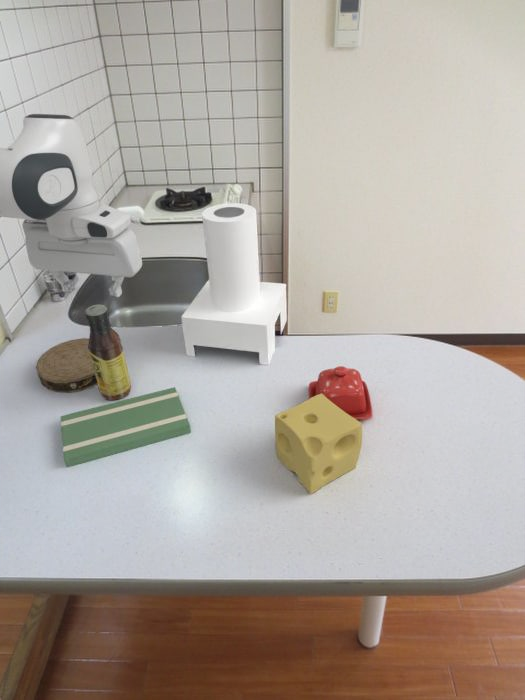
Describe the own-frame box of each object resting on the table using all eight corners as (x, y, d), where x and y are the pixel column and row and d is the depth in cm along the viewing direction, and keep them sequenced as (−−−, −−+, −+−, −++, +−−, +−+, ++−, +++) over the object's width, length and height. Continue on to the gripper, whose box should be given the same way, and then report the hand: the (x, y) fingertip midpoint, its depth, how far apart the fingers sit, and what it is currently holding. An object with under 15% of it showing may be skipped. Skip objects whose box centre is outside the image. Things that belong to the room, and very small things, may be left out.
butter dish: (310, 424, 97) (311, 388, 92) (308, 385, 106) (308, 351, 101) (373, 424, 96) (377, 387, 91) (365, 385, 106) (368, 350, 101)
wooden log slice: (127, 353, 119) (125, 342, 117) (92, 397, 106) (88, 385, 104) (65, 345, 122) (62, 335, 121) (24, 387, 110) (19, 376, 108)
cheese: (310, 496, 83) (311, 451, 77) (272, 456, 90) (270, 412, 85) (360, 468, 87) (364, 423, 82) (320, 431, 95) (321, 388, 89)
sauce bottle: (100, 386, 109) (77, 302, 98) (130, 380, 110) (111, 297, 99) (102, 406, 104) (78, 319, 92) (134, 399, 105) (114, 313, 94)
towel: (66, 467, 90) (63, 458, 89) (63, 424, 100) (60, 415, 99) (190, 432, 96) (189, 424, 95) (176, 394, 106) (174, 386, 104)
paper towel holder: (286, 320, 128) (284, 198, 111) (268, 365, 113) (262, 232, 96) (213, 313, 132) (201, 195, 115) (186, 355, 117) (167, 226, 100)
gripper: (8, 222, 86) (31, 296, 94) (121, 229, 82) (136, 306, 89) (31, 209, 91) (51, 281, 99) (138, 215, 87) (151, 290, 94)
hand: (92, 293), depth 94 cm, fingers open, 8 cm apart
